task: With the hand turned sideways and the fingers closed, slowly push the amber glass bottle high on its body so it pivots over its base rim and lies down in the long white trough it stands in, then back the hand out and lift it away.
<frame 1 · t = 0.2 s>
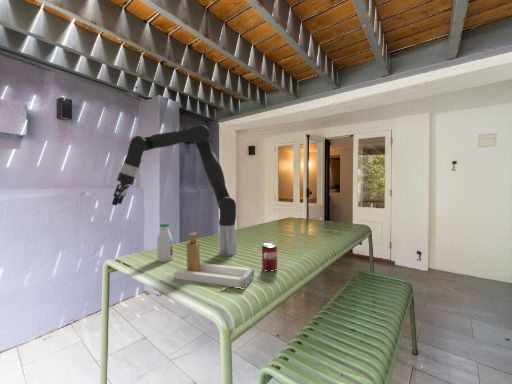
hand: (116, 204, 121), 31 cm above the table, tool tilted 20°, fingers open, 8 cm apart
milk bottle: (165, 260, 130), on the table
soda can: (269, 270, 115), on the table
amber bottle: (193, 274, 108), point 1 cm above the table, touching white trough
white trough: (211, 278, 106), on the table
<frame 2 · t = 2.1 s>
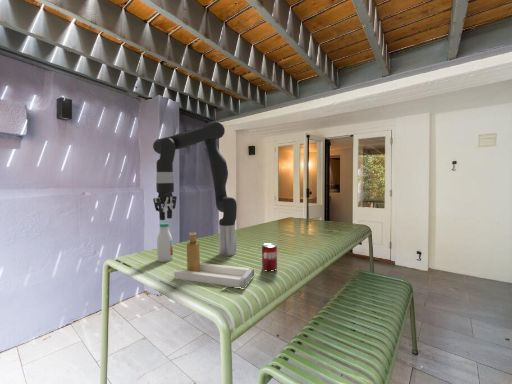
hand: (166, 219, 111), 25 cm above the table, tool pointing down, fingers open, 4 cm apart
nothing on the table moved.
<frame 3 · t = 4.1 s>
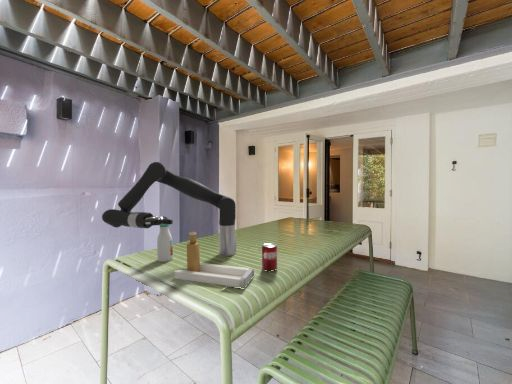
hand: (171, 221, 110), 24 cm above the table, tool horizontal, fingers closed
nothing on the table moved.
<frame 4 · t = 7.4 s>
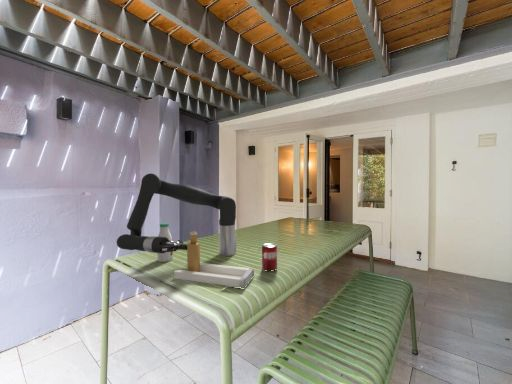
hand: (188, 247, 108), 13 cm above the table, tool horizontal, fingers closed
amber bottle: (193, 274, 108), point 1 cm above the table, touching white trough, gripper
everything else where it was.
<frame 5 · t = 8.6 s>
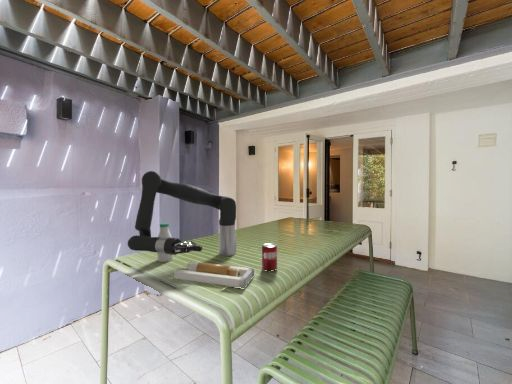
hand: (201, 248, 106), 13 cm above the table, tool horizontal, fingers closed
amber bottle: (199, 268, 107), point 4 cm above the table, tilted 90°, touching white trough
everything else where it was.
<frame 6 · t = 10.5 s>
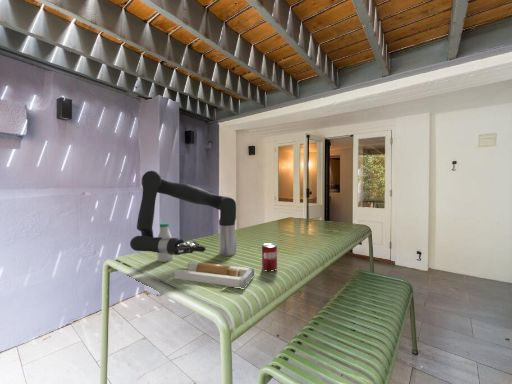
hand: (204, 249, 106), 13 cm above the table, tool horizontal, fingers closed
nothing on the table moved.
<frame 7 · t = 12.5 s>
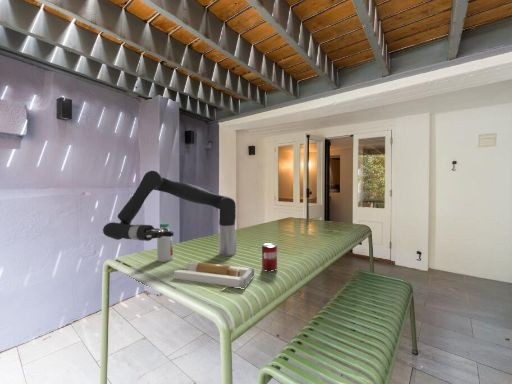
hand: (172, 234, 110), 18 cm above the table, tool horizontal, fingers closed
nothing on the table moved.
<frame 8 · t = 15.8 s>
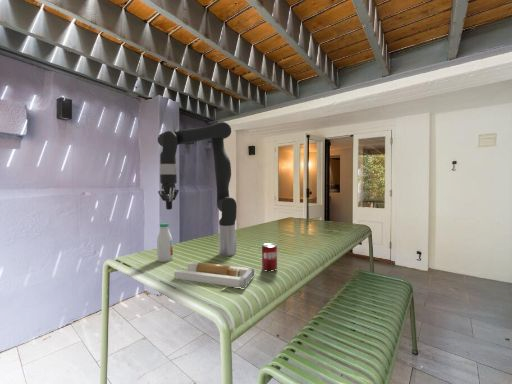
hand: (169, 209, 117), 29 cm above the table, tool pointing down, fingers closed
nothing on the table moved.
at the end: amber bottle tilted 90°; amber bottle inside the target area on the white trough (0.1 cm from its centre), point 3.5 cm above the white trough's base; amber bottle touching white trough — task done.
